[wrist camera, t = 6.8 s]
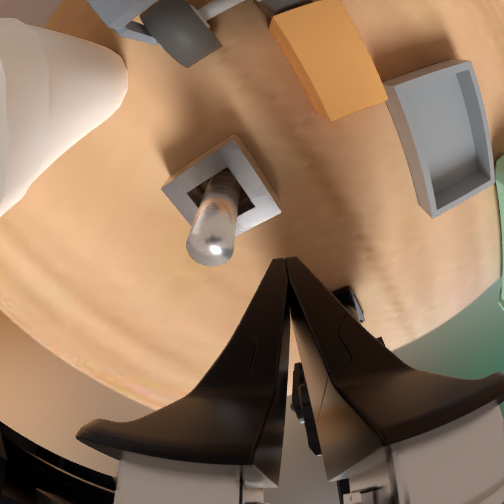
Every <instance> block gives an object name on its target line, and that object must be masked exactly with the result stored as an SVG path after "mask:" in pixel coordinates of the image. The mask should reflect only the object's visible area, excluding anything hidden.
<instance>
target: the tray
mask: <svg viewBox="0 0 504 504" xmlns="http://www.w3.org/2000/svg"><path fill="white" fill-rule="evenodd" d="M382 84H383V86H384V89H385V91H386V94H387V96H388V99H389V100H387V101H385V102H386V104H387V106H388V109H389V111H390V114H391V116H392V119H393V121H394V124H395V127H396V129H397V132H398V135H399V138H400V141H401V144H402V147H403V150H404V153H405V156H406V159H407V162H408V166H409V169H410V172H411V176H412V180H413V183H414V187H415V191H416V195H417V199H418V204H419V205H420V206H421V207H422V208H423V209H424V211H425V212H426V213H427V214H428V215H429V216H430V217H431V218H432V219H433V218H435V217H437V216H439V215H440V214H442V213H444V212H446V211H448V210H450V209H451V208H453V207H455V206H457V205H458V204H460V203H462V202H464V201H465V200H467V199H469V198H471V197H472V196H474V195H476V194H478V193H479V192H481V191H483V190H484V189H486V188H488V187H489V186H491V185H493V184H494V183H495V175H494V164H493V154H492V147H491V140H490V134H489V128H488V122H487V117H486V113H485V108H484V104H483V100H482V96H481V92H480V88H479V85H478V82H477V78H476V75H475V72H474V69H473V66H472V63H471V61H467V60H458V59H450V60H446V61H443V62H440V63H436V64H433V65H430V66H427V67H424V68H421V69H418V70H415V71H412V72H409V73H406V74H403V75H400V76H398V77H395V78H392V79H390V80H387V81H384V82H382Z"/></svg>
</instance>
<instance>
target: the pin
mask: <svg viewBox="0 0 504 504" xmlns="http://www.w3.org/2000/svg"><path fill="white" fill-rule="evenodd" d="M239 193H240V184H239V182H238V181H237V179H236V178H235V176H234V175H233V174H232V173H230V172H227V171H221V172H219V173H217V174H215V175H214V176H212V177H211V178H210V180H209V183H208V185H207V188H206V190H205V193H204V196H203V198H202V201H201V203H200V206H199V209H198V211H197V214H196V217H195V219H194V222H193V225H192V228H191V231H190V233H189V236H188V239H187V243H186V247H187V251H188V253H189V255H190V256H191V258H192V259H193V260H195V261H196V262H198V263H200V264H202V265H205V266H219V265H222V264H224V263H226V262H227V261H228V260H229V259H230V258H231V256H232V254H233V249H234V239H235V230H236V220H237V211H238V202H239Z"/></svg>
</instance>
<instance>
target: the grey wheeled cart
mask: <svg viewBox="0 0 504 504" xmlns="http://www.w3.org/2000/svg"><path fill="white" fill-rule="evenodd" d="M86 1H87V2H88V3H89V5H90V6H91V7H92V8H93V10H94V11H95V12H96V13H97V15H98V16H99V17H100V18H101V19H102V21H103V22H104V23H105V24H106V26H107V27H109V28H113V29H114V30H115V31H116V33H117V34H118V35H119V36H120V37H124V38H128V39H133V40H137V41H141V42H145V43H149V44H153V45H156V44H157V43H158V44H159V45H160V46H161V47H162V48H164V49H165V50H166V51H167V52H168V53H169V54H170V55H171V56H172V57H173V58H174V59H175V60H176V61H177V62H179V63H180V64H181V65H183V66H184V67H186V68H189V67H190V66H192V65H193V64H195V63H196V62H198V61H199V60H201V59H202V58H204V57H206V56H207V55H209V54H210V53H212V52H214V51H215V50H217V49H219V48H220V47H222V45H221V43H220V42H219V40H218V39H217V38H216V36H215V35H214V34H213V33H212V31H211V30H210V29H209V28H210V25H209V24H208V23H207V22H206V21H208V20H209V19H211V18H213V17H215V16H216V15H218V14H220V13H222V12H224V11H225V10H227V9H229V8H231V7H233V6H235V5H237V4H239V3H241V2H243V1H245V0H213V1H212V2H210V3H208V4H206V5H205V6H203V7H201V8H199V9H198V10H196V9H195V7H194V6H193V5H189V4H188V3H187V2H186V0H159V1H158V0H86ZM156 1H158V2H156ZM155 2H156V3H155ZM254 2H255V3H256V4H257V5H258V6H259V7H260V8H261V10H262V11H263V12H264V13H265V14H267V15H268V16H269V17H270V18H272V17H273V16H275V15H278V14H281V13H283V12H286V11H289V10H292V9H295V8H298V7H301V6H304V5H307V4H310V3H312V2H313V0H254ZM154 3H155V4H154ZM152 4H153V5H152ZM151 5H152V6H151ZM149 6H151V7H149ZM148 7H149V8H148ZM147 8H148V9H147ZM145 9H147V10H145ZM144 10H145V11H144ZM143 11H144V12H143ZM141 12H143V13H141ZM140 13H141V14H140ZM139 14H140V18H141V20H142V22H143V24H144V25H142V24H139V23H137V22H134V21H131V20H133V19H134V18H135V17H136V16H138V15H139Z"/></svg>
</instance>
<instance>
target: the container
mask: <svg viewBox="0 0 504 504" xmlns="http://www.w3.org/2000/svg"><path fill="white" fill-rule="evenodd" d="M495 180H496V186H497V192H498V199H499V207H500V216H501V228H502V249H503V274H502V288H501V291H500V296H499V305H500V306H501V308H502V309H503V311H504V155H503V156H501V157H500V158H499V159H498V160H497V161H496V165H495Z"/></svg>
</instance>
